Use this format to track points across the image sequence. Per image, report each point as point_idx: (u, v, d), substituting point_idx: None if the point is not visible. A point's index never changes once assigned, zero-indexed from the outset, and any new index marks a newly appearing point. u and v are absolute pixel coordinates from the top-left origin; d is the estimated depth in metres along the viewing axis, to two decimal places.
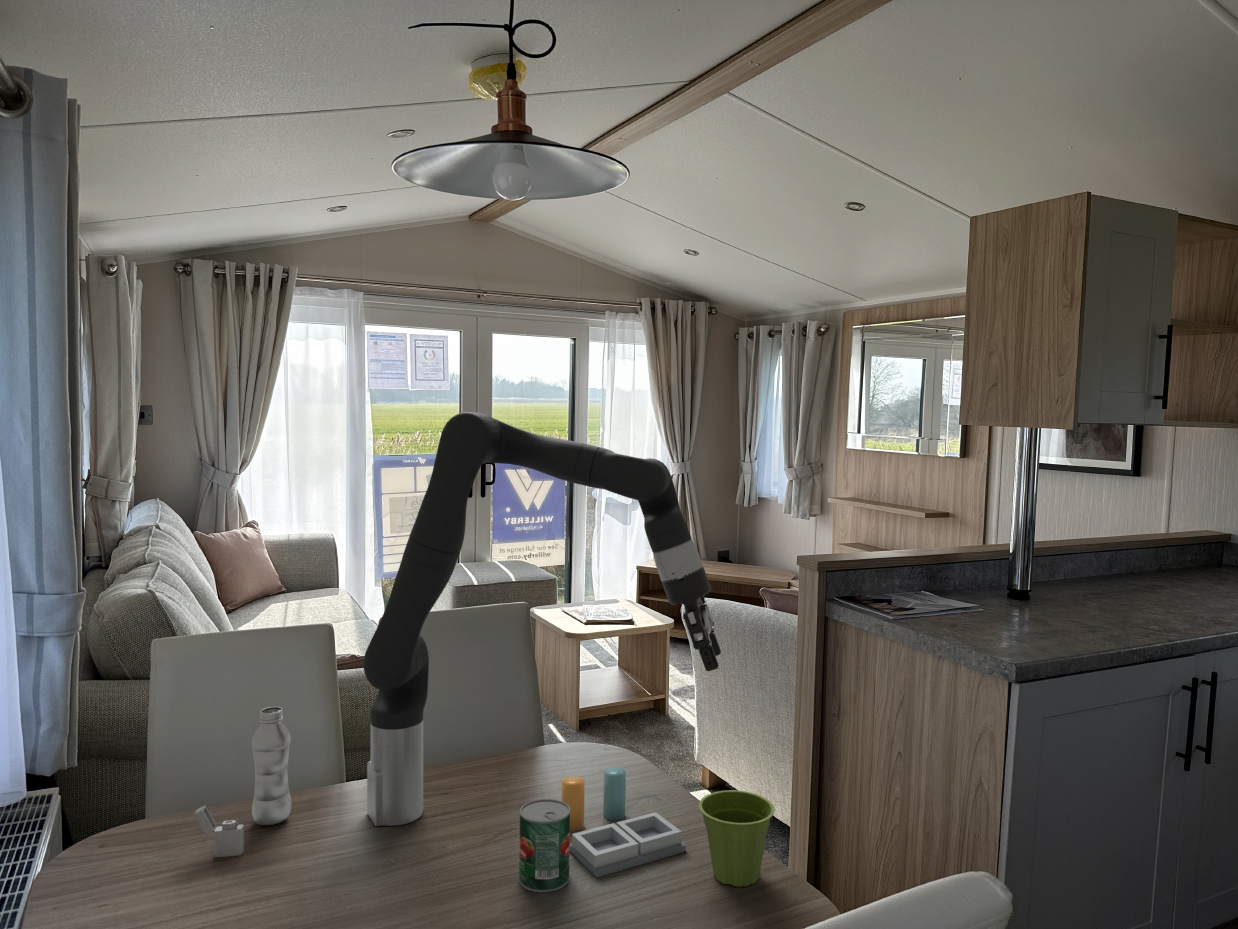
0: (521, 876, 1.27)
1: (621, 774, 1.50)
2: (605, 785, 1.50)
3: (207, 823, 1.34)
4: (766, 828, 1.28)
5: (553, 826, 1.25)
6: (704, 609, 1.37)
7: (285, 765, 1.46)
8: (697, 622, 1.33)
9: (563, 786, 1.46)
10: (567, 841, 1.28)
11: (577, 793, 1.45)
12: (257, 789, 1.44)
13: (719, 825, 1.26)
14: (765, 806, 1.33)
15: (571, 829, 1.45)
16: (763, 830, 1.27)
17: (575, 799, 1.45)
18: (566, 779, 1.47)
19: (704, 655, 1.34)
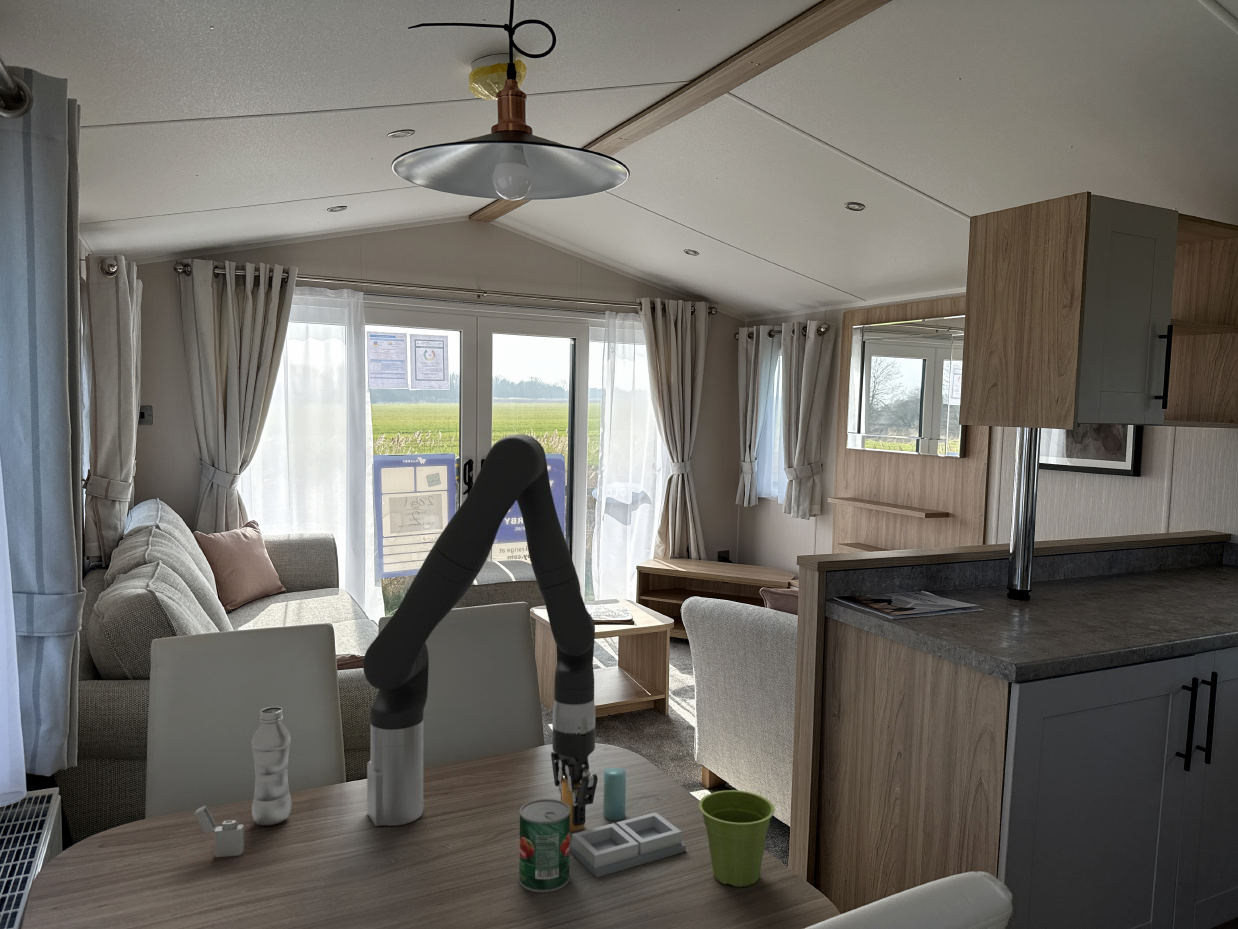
0: (521, 876, 1.27)
1: (621, 774, 1.50)
2: (605, 785, 1.50)
3: (207, 823, 1.34)
4: (766, 828, 1.28)
5: (553, 826, 1.25)
6: None
7: (285, 765, 1.46)
8: (593, 786, 1.41)
9: (563, 786, 1.46)
10: (567, 841, 1.28)
11: (577, 793, 1.45)
12: (257, 789, 1.44)
13: (719, 825, 1.26)
14: (765, 806, 1.33)
15: (571, 829, 1.45)
16: (763, 830, 1.27)
17: None
18: None
19: (579, 811, 1.44)
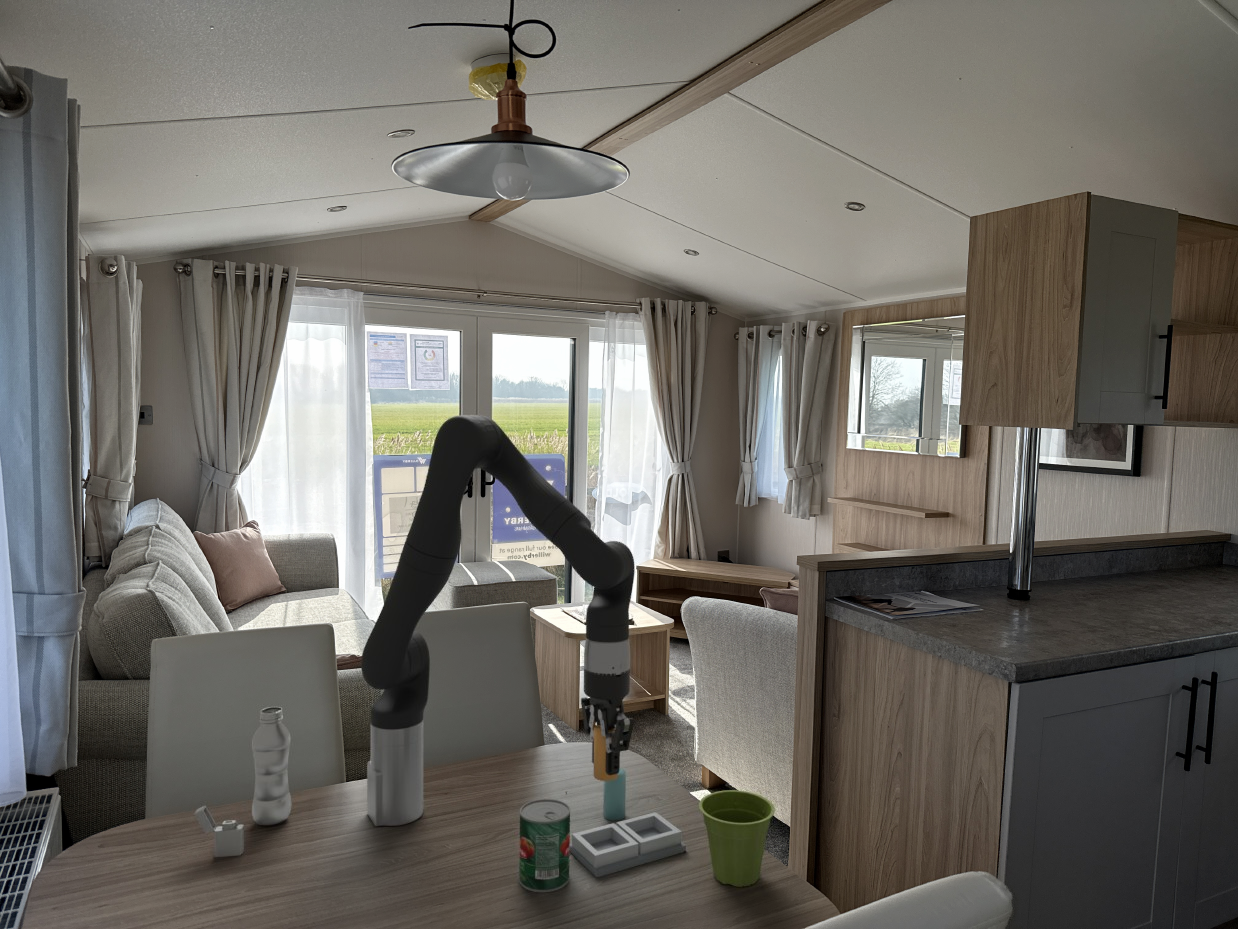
0: (521, 876, 1.27)
1: (621, 774, 1.50)
2: (605, 785, 1.50)
3: (207, 823, 1.34)
4: (766, 828, 1.28)
5: (553, 826, 1.25)
6: None
7: (285, 765, 1.46)
8: (629, 731, 1.30)
9: (595, 732, 1.35)
10: (567, 841, 1.28)
11: (611, 739, 1.34)
12: (257, 789, 1.44)
13: (719, 825, 1.26)
14: (765, 806, 1.32)
15: (604, 778, 1.34)
16: (763, 830, 1.27)
17: None
18: None
19: (613, 759, 1.33)
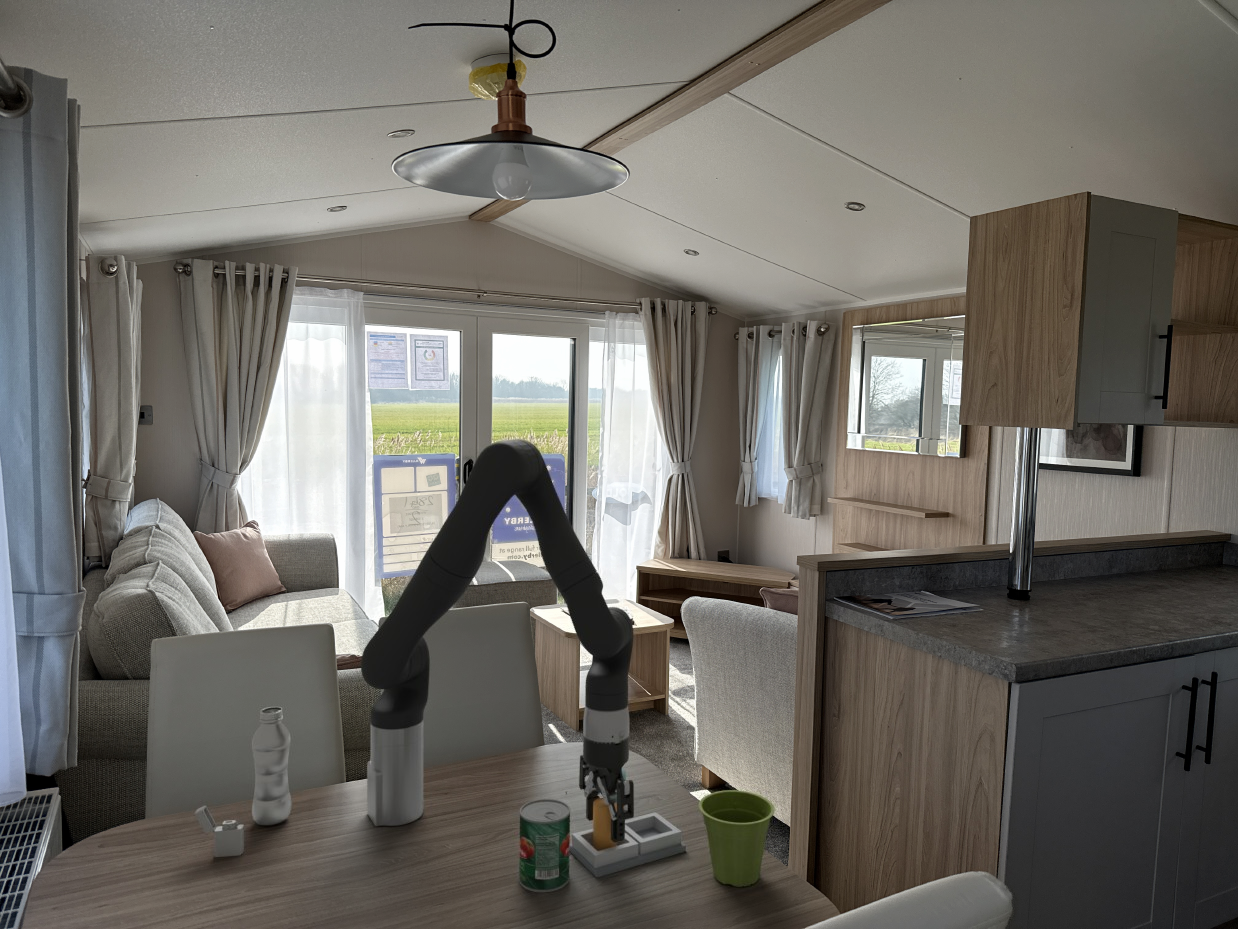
0: (521, 876, 1.27)
1: None
2: None
3: (207, 823, 1.34)
4: (766, 828, 1.28)
5: (553, 826, 1.25)
6: None
7: (285, 765, 1.46)
8: (630, 794, 1.30)
9: (594, 808, 1.35)
10: (567, 841, 1.28)
11: (610, 815, 1.34)
12: (257, 789, 1.44)
13: (719, 825, 1.26)
14: (765, 806, 1.33)
15: None
16: (763, 830, 1.27)
17: (608, 822, 1.34)
18: (598, 800, 1.37)
19: (619, 826, 1.31)
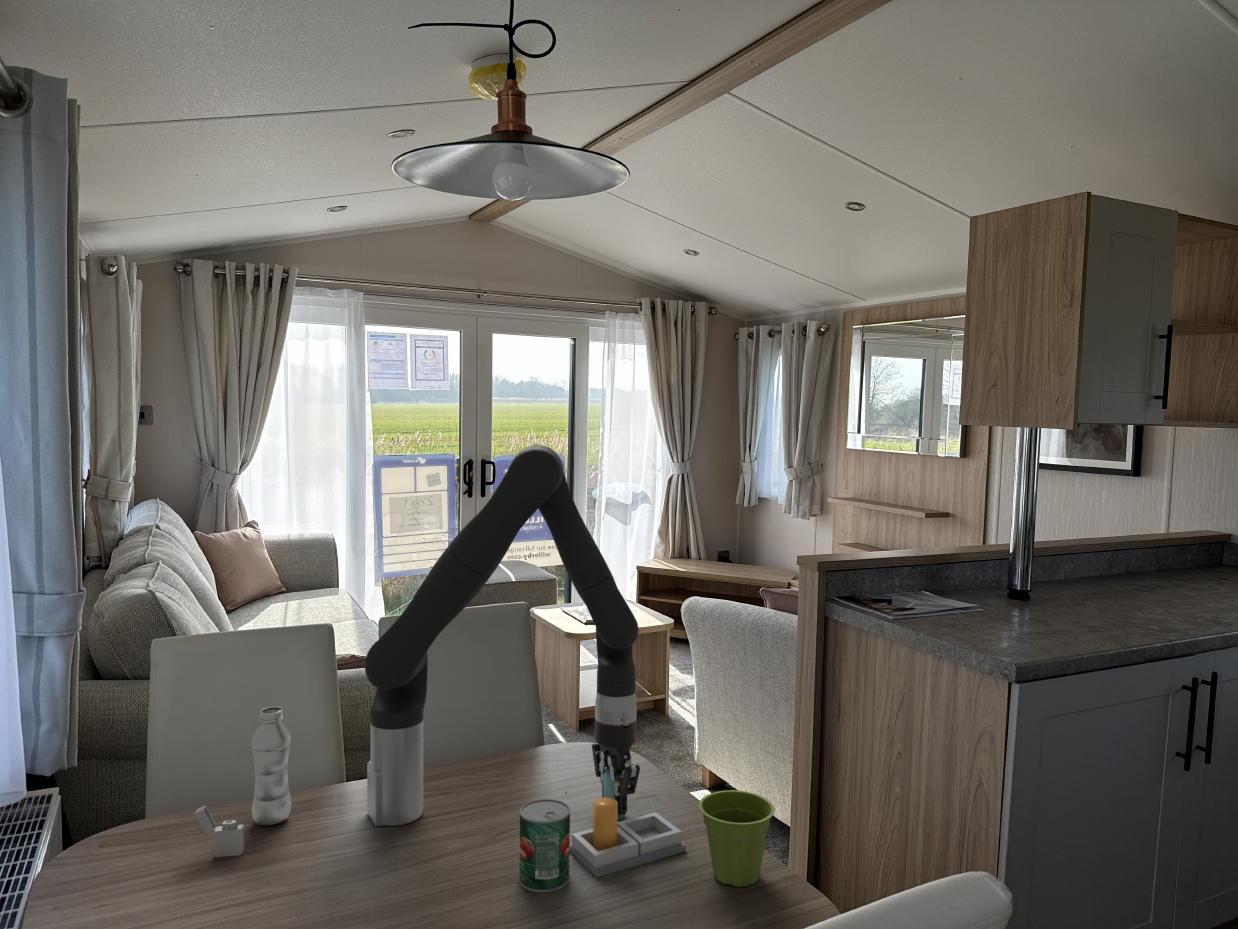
0: (521, 876, 1.27)
1: (621, 774, 1.50)
2: (605, 785, 1.50)
3: (207, 823, 1.34)
4: (766, 828, 1.28)
5: (553, 826, 1.25)
6: None
7: (285, 765, 1.46)
8: (635, 776, 1.46)
9: (594, 808, 1.35)
10: (567, 841, 1.28)
11: (610, 815, 1.34)
12: (257, 789, 1.44)
13: (719, 825, 1.26)
14: (765, 806, 1.33)
15: None
16: (763, 830, 1.27)
17: (608, 822, 1.34)
18: (598, 800, 1.37)
19: (621, 801, 1.48)
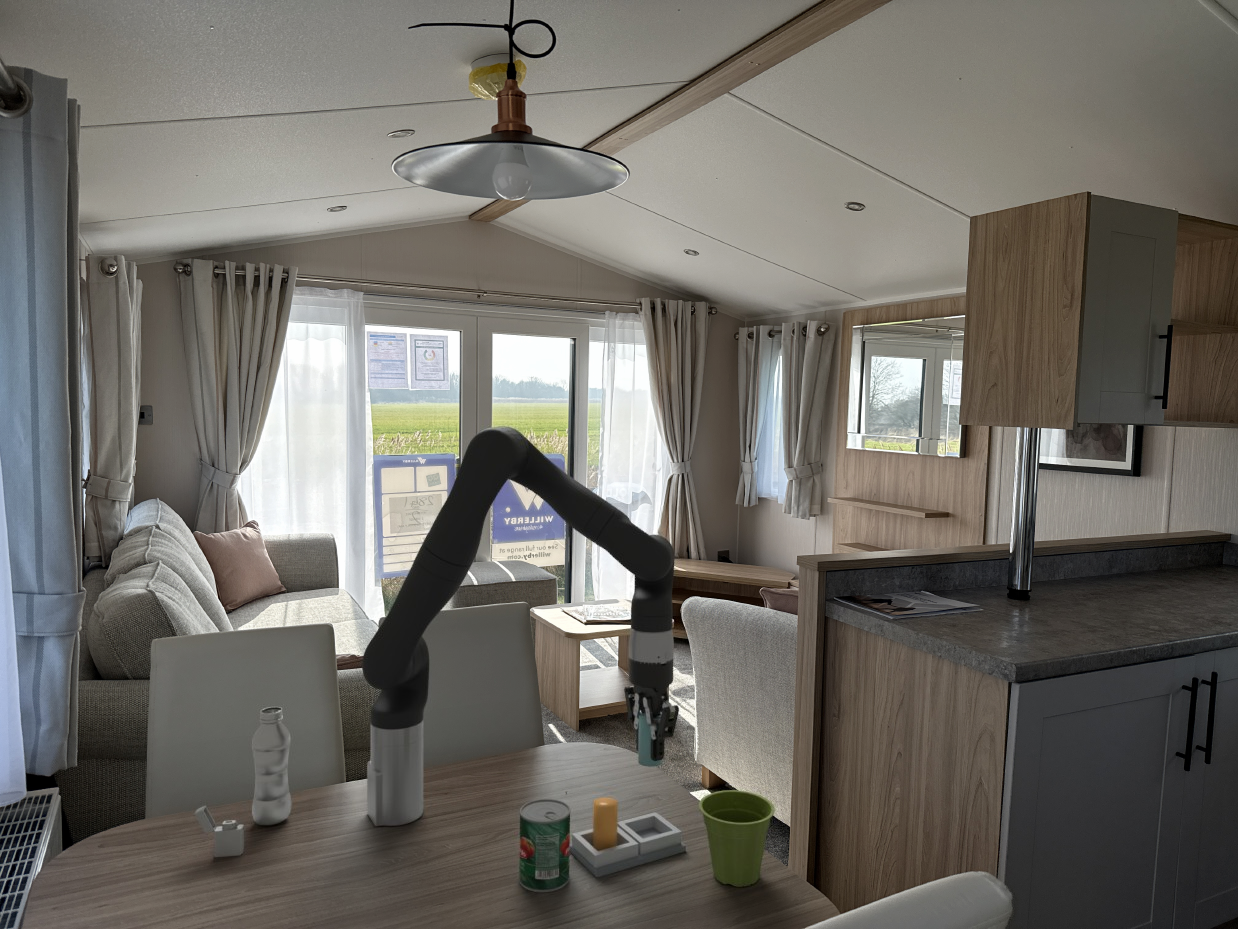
0: (521, 876, 1.27)
1: (657, 717, 1.39)
2: (640, 729, 1.39)
3: (207, 823, 1.34)
4: (766, 828, 1.28)
5: (553, 826, 1.25)
6: None
7: (285, 765, 1.46)
8: (674, 718, 1.35)
9: (594, 808, 1.35)
10: (567, 841, 1.28)
11: (610, 815, 1.34)
12: (257, 789, 1.44)
13: (719, 825, 1.26)
14: (765, 806, 1.33)
15: None
16: (763, 830, 1.27)
17: (608, 822, 1.34)
18: (598, 800, 1.37)
19: (658, 745, 1.37)
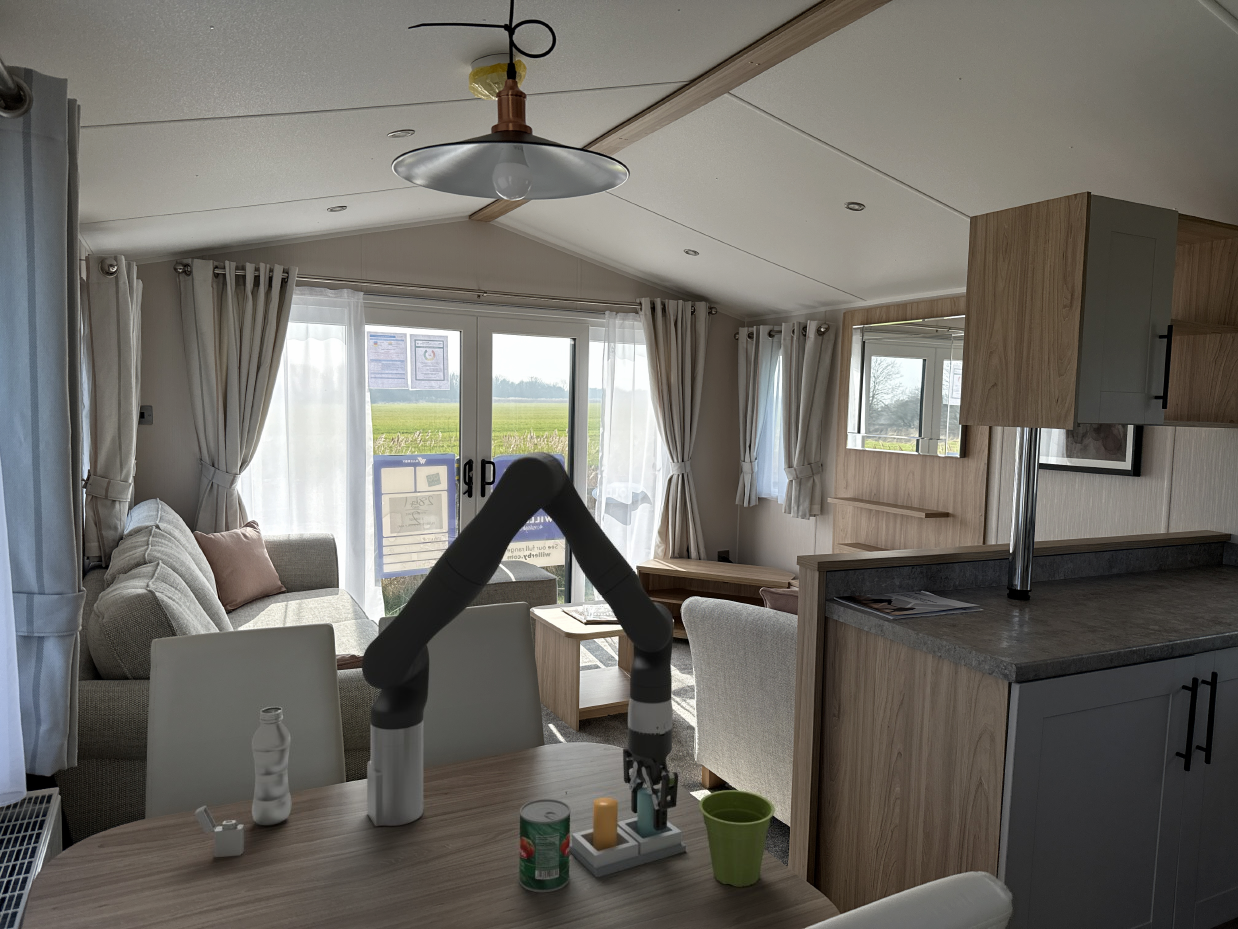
0: (521, 876, 1.27)
1: None
2: (639, 806, 1.39)
3: (207, 823, 1.34)
4: (766, 828, 1.28)
5: (553, 826, 1.25)
6: None
7: (285, 765, 1.46)
8: (674, 785, 1.35)
9: (594, 808, 1.35)
10: (567, 841, 1.28)
11: (610, 815, 1.34)
12: (257, 789, 1.44)
13: (719, 825, 1.26)
14: (765, 806, 1.33)
15: None
16: (763, 830, 1.27)
17: (608, 822, 1.34)
18: (598, 800, 1.37)
19: (661, 815, 1.36)
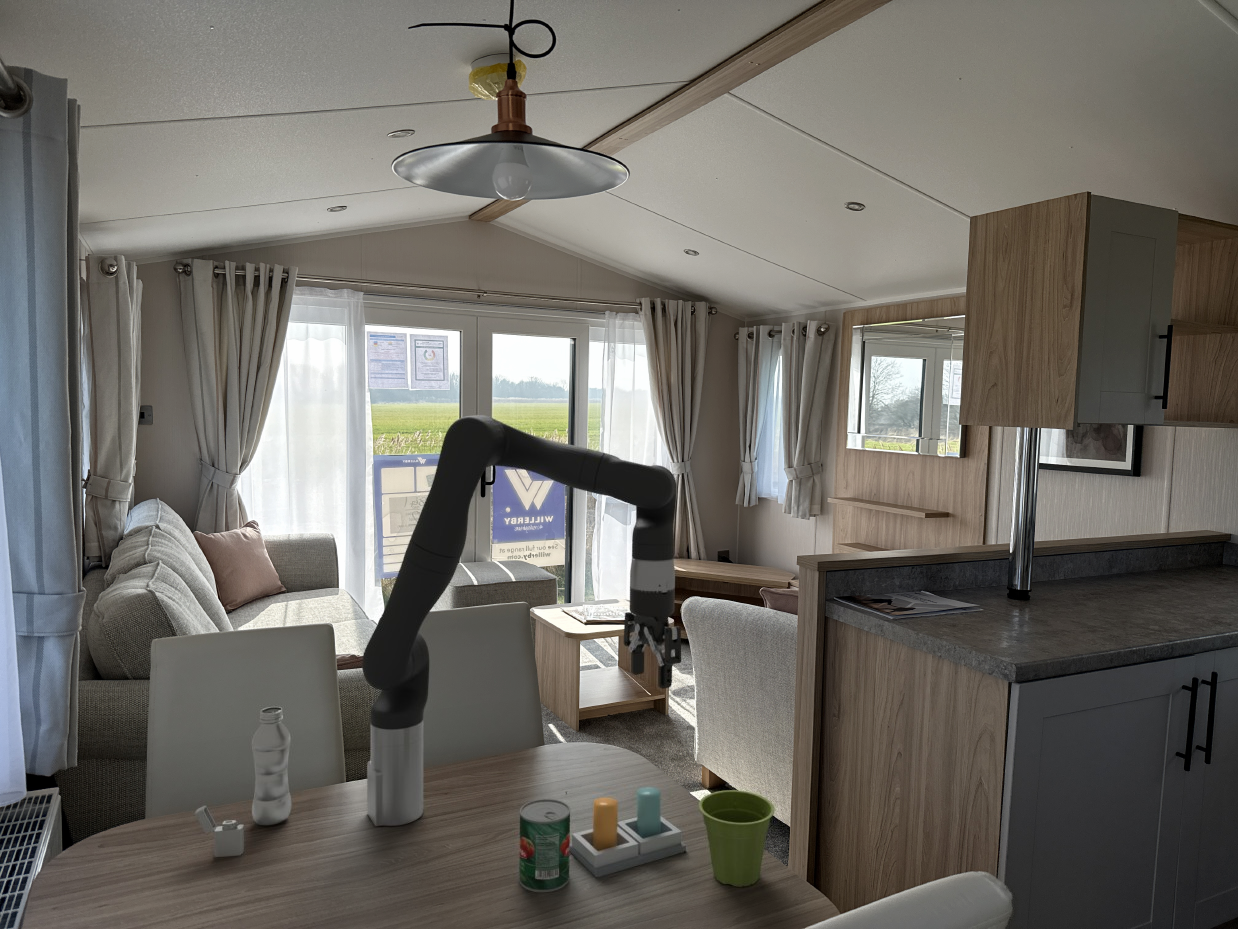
0: (521, 876, 1.27)
1: (655, 794, 1.39)
2: (639, 807, 1.39)
3: (207, 823, 1.34)
4: (766, 828, 1.28)
5: (553, 826, 1.25)
6: None
7: (285, 765, 1.46)
8: (677, 639, 1.34)
9: (594, 808, 1.35)
10: (567, 841, 1.28)
11: (610, 815, 1.34)
12: (257, 789, 1.44)
13: (719, 825, 1.26)
14: (765, 806, 1.33)
15: None
16: (763, 830, 1.27)
17: (608, 822, 1.34)
18: (598, 800, 1.37)
19: (666, 672, 1.35)
